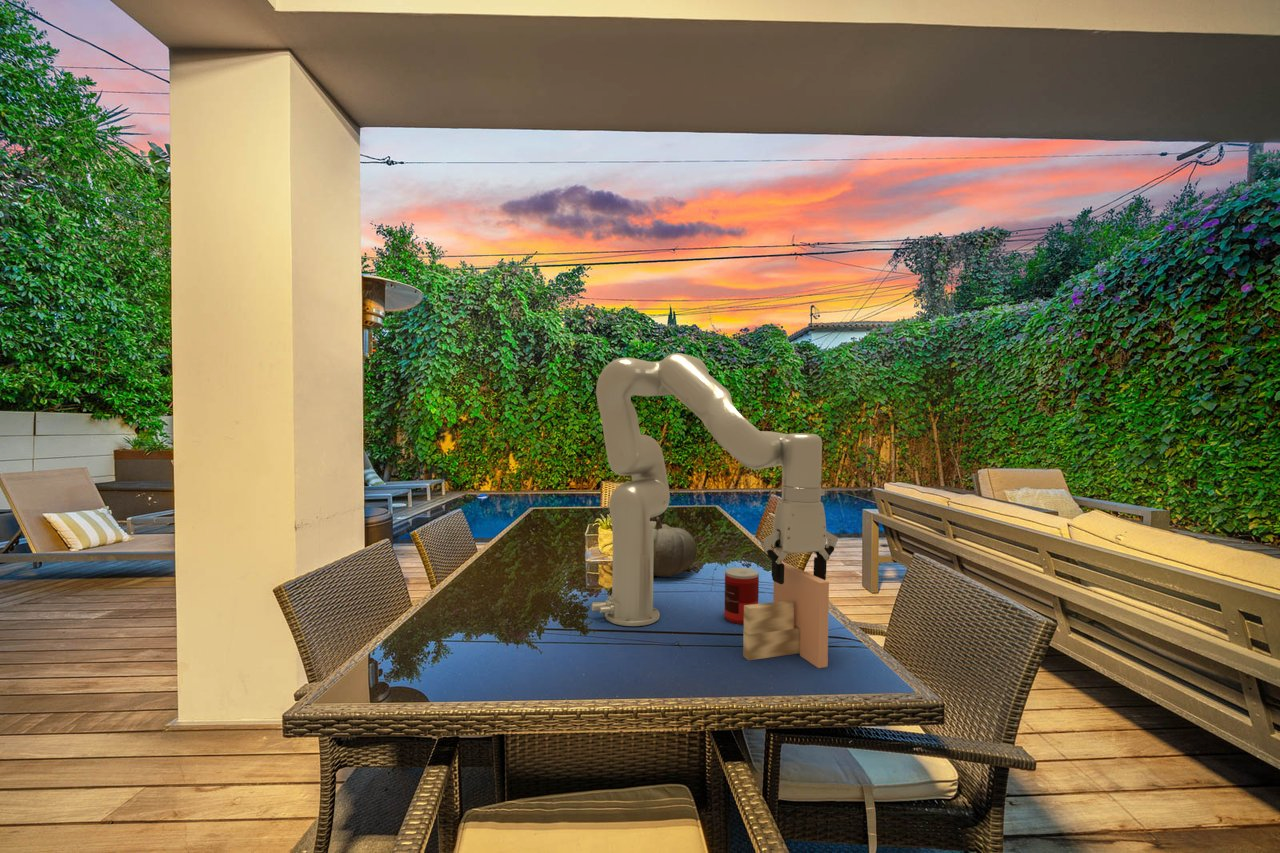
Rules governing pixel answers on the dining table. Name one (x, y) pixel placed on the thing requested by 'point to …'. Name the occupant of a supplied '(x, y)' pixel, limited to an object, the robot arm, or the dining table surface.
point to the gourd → (671, 549)
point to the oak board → (770, 630)
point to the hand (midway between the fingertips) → (799, 580)
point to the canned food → (740, 592)
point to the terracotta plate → (807, 611)
